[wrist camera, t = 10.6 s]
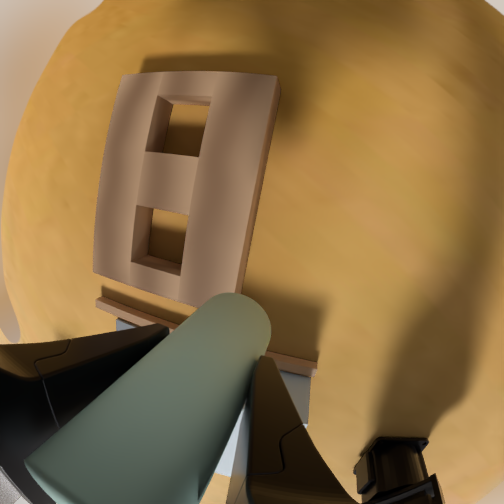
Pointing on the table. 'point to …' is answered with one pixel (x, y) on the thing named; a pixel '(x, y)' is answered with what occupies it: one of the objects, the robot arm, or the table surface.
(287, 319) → the table surface
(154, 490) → the teal peg
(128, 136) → the board
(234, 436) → the cover
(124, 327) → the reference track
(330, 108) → the table surface
